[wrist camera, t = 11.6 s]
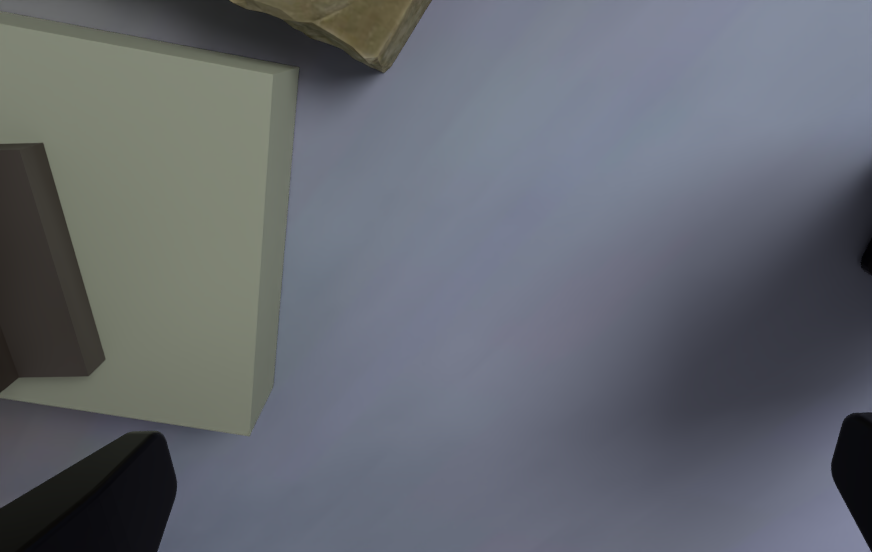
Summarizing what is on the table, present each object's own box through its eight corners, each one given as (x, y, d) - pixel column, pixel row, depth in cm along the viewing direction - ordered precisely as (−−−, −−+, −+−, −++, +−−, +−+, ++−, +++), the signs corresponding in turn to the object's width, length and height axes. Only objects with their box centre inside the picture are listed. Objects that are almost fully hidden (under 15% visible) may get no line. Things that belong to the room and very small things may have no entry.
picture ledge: (299, 67, 18) (262, 77, 15) (273, 386, 23) (240, 455, 19) (-167, -21, 18) (-329, -33, 14) (-97, 328, 22) (-204, 388, 19)
